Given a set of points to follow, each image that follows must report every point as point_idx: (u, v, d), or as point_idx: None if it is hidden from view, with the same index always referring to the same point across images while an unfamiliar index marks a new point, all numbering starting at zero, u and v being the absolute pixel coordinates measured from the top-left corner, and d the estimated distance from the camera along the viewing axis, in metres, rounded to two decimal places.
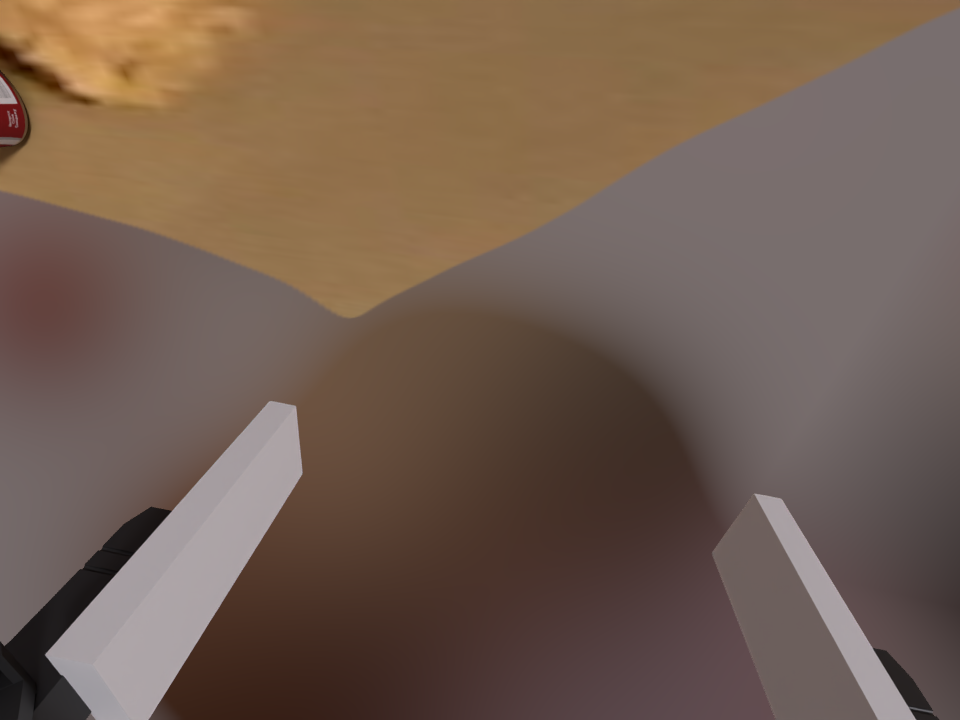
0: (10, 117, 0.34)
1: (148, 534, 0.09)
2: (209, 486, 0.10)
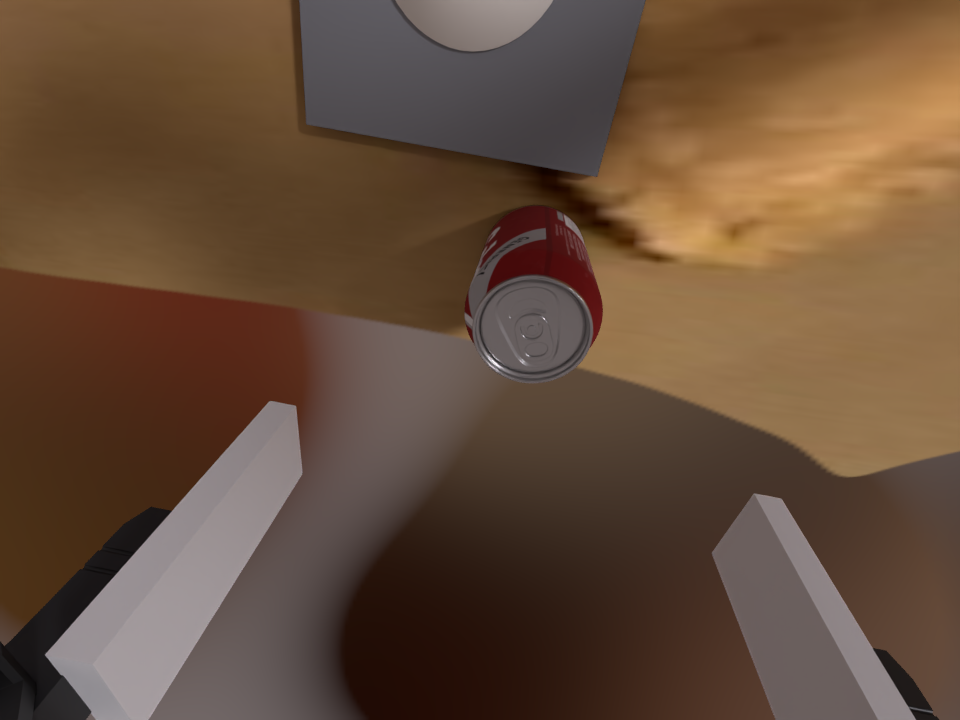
0: None
1: (148, 534, 0.09)
2: (208, 486, 0.09)
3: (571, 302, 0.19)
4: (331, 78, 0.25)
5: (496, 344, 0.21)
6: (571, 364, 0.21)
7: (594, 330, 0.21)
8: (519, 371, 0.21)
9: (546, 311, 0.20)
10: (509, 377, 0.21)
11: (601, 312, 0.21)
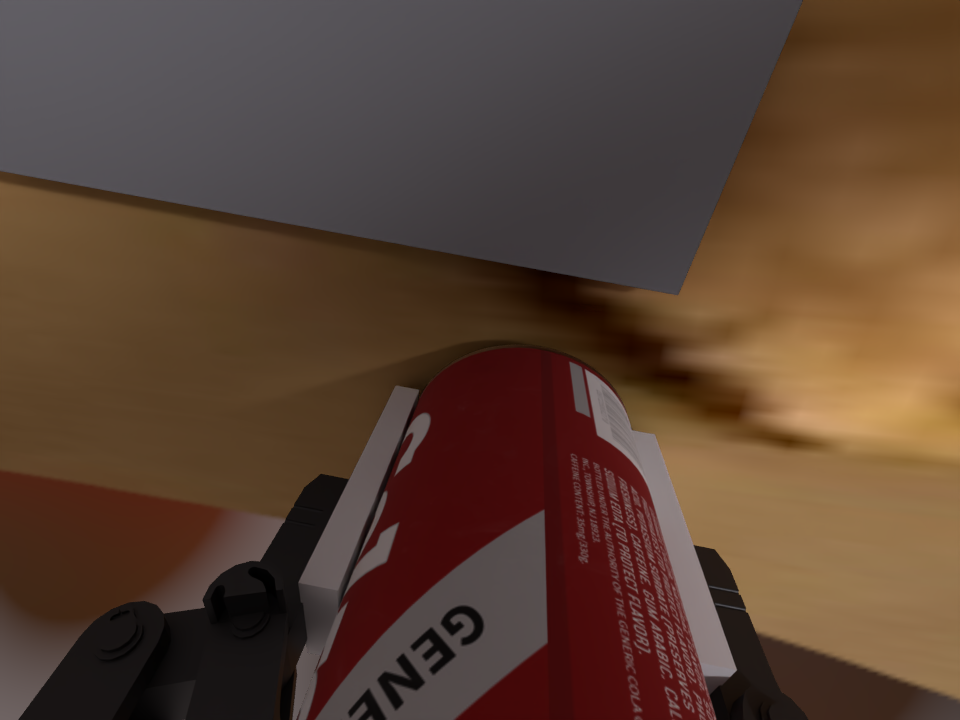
0: None
1: (327, 496, 0.11)
2: (372, 455, 0.11)
3: None
4: None
5: None
6: None
7: None
8: None
9: None
10: None
11: None
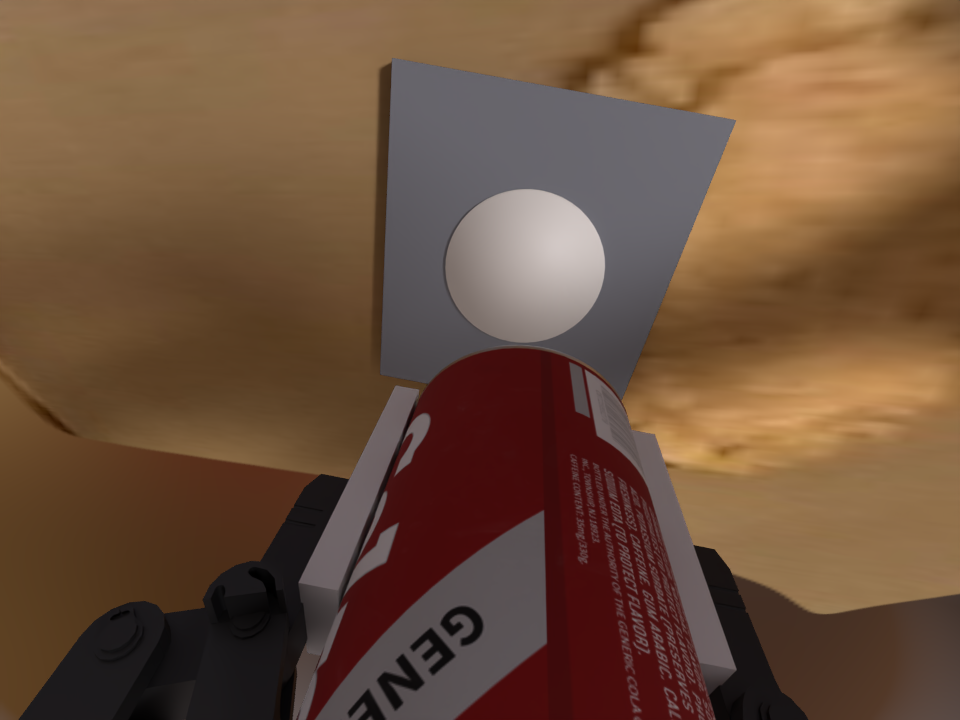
0: None
1: (327, 496, 0.11)
2: (372, 455, 0.11)
3: None
4: (403, 349, 0.32)
5: None
6: None
7: None
8: None
9: None
10: None
11: None
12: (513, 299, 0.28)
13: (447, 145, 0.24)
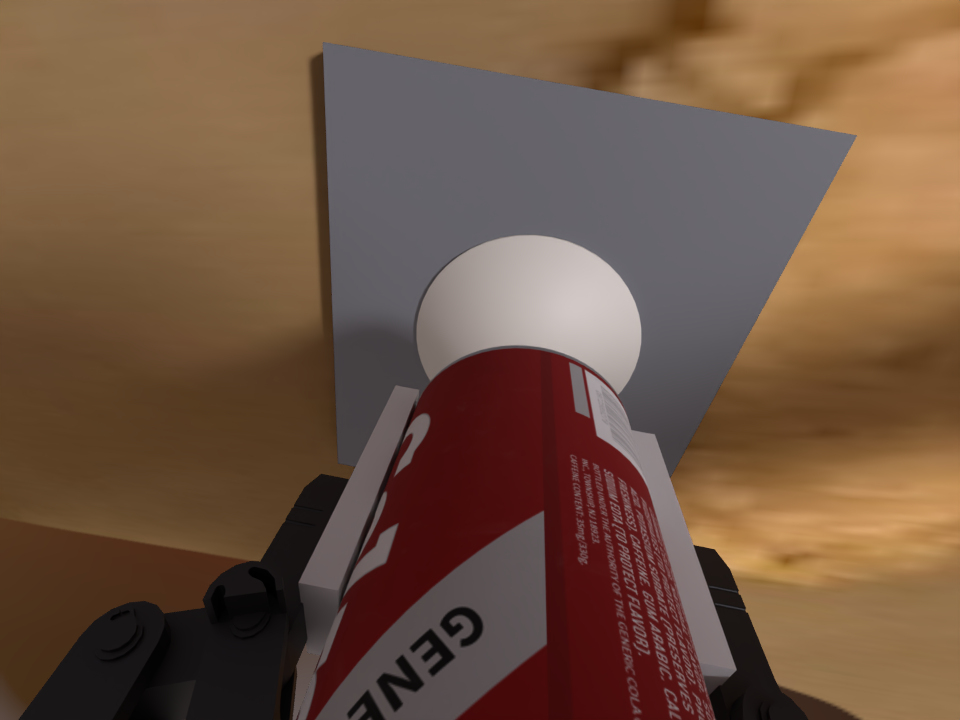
0: None
1: (328, 496, 0.11)
2: (373, 455, 0.11)
3: None
4: (366, 435, 0.24)
5: None
6: None
7: None
8: None
9: None
10: None
11: None
12: None
13: (411, 172, 0.16)
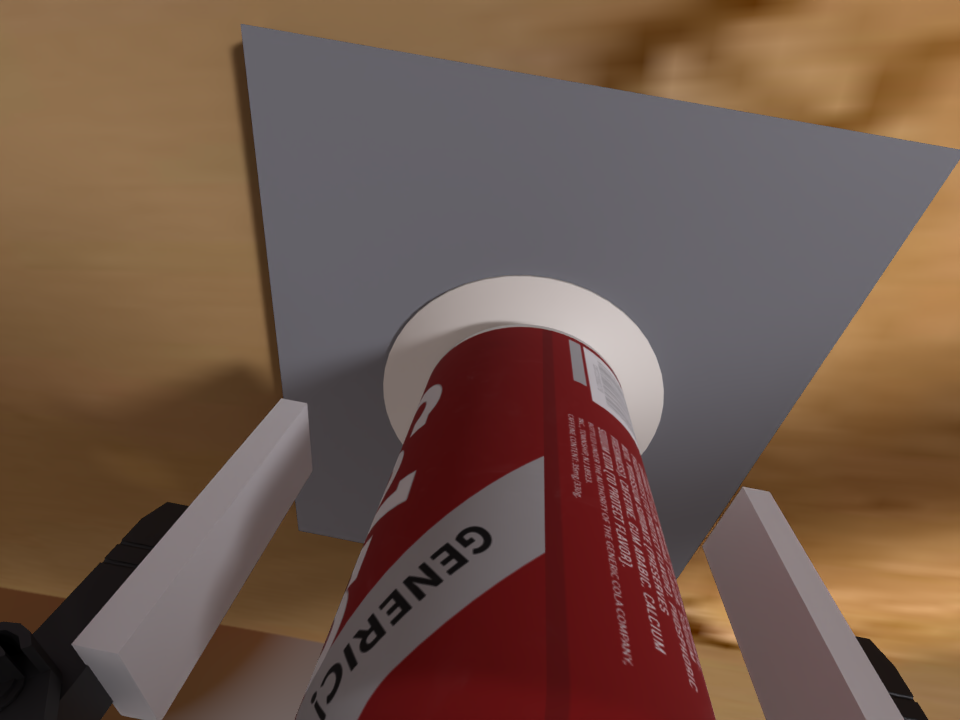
0: None
1: (165, 529, 0.09)
2: (224, 481, 0.10)
3: None
4: (329, 501, 0.20)
5: None
6: None
7: None
8: None
9: None
10: None
11: None
12: None
13: (369, 196, 0.13)
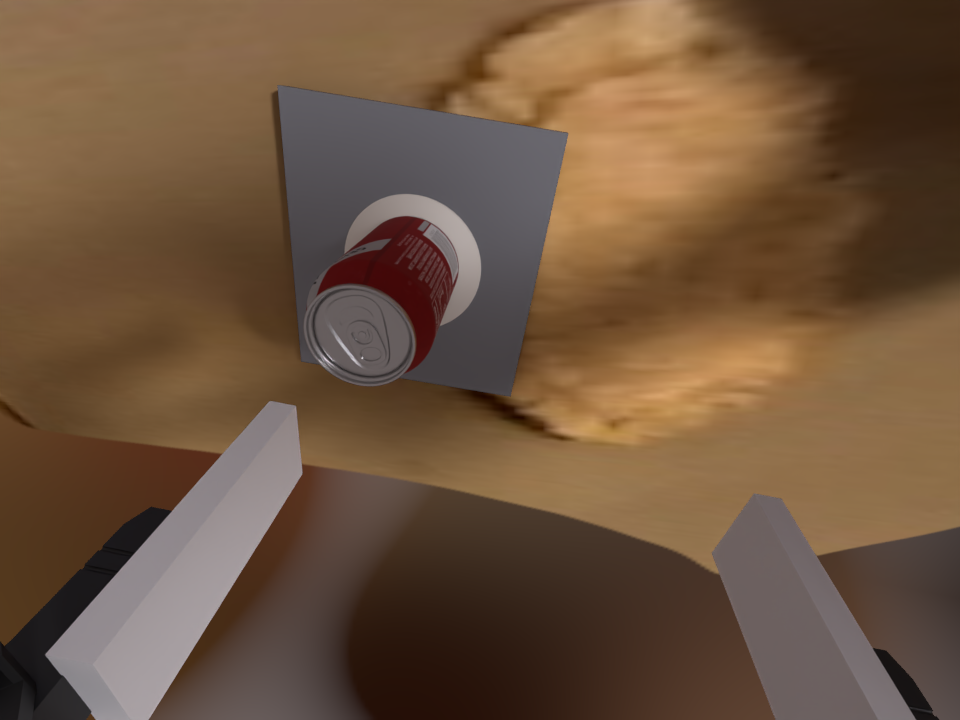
0: None
1: (148, 534, 0.09)
2: (209, 485, 0.10)
3: (391, 309, 0.20)
4: None
5: (333, 350, 0.22)
6: (405, 367, 0.22)
7: (425, 335, 0.22)
8: (360, 375, 0.23)
9: (372, 317, 0.21)
10: (348, 381, 0.22)
11: (430, 317, 0.22)
12: None
13: (333, 157, 0.28)
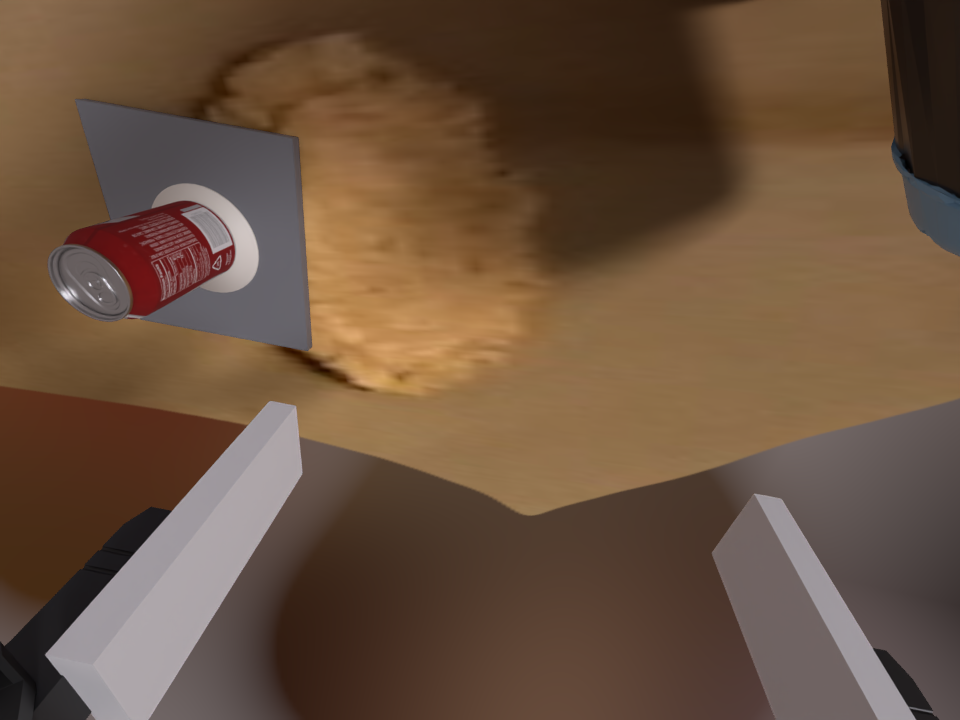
0: (227, 257, 0.38)
1: (148, 534, 0.09)
2: (208, 486, 0.09)
3: (107, 263, 0.29)
4: None
5: (79, 294, 0.30)
6: (131, 308, 0.30)
7: (144, 284, 0.30)
8: (103, 313, 0.31)
9: (98, 269, 0.29)
10: (93, 317, 0.31)
11: (148, 271, 0.30)
12: None
13: (127, 154, 0.37)
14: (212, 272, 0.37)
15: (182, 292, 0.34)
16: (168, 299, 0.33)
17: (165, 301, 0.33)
